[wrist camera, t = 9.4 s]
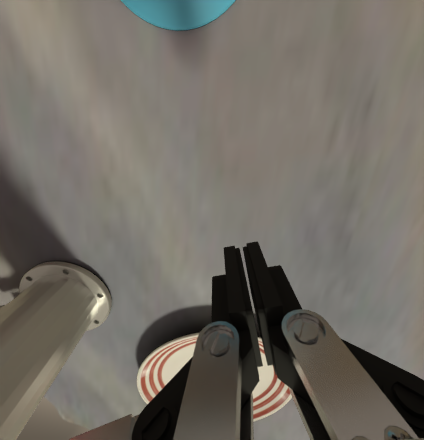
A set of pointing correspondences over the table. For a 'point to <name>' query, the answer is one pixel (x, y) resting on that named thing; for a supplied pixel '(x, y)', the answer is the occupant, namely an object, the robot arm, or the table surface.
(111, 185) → the table surface
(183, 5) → the disc
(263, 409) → the dinner plate
